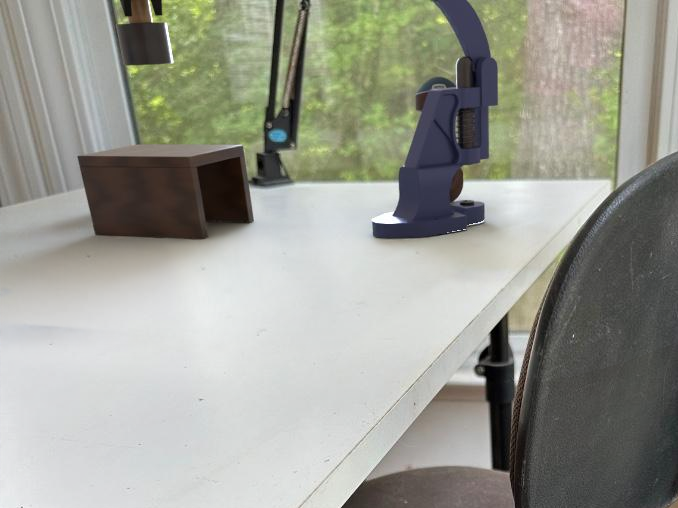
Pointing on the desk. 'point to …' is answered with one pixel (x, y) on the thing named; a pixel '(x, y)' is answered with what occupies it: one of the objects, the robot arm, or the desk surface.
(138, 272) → the desk surface
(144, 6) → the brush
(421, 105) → the headphones
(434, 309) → the desk surface
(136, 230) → the shelf
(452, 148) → the hand press
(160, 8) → the robot arm
